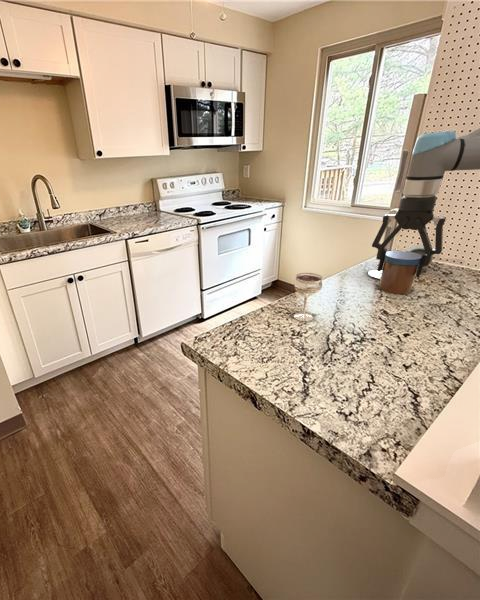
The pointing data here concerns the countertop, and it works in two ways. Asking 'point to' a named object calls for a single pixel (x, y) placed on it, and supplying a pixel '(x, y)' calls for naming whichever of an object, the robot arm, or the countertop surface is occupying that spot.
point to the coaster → (375, 274)
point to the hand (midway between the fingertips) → (398, 272)
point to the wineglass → (307, 290)
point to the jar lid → (402, 258)
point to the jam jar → (397, 278)
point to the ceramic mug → (419, 252)
